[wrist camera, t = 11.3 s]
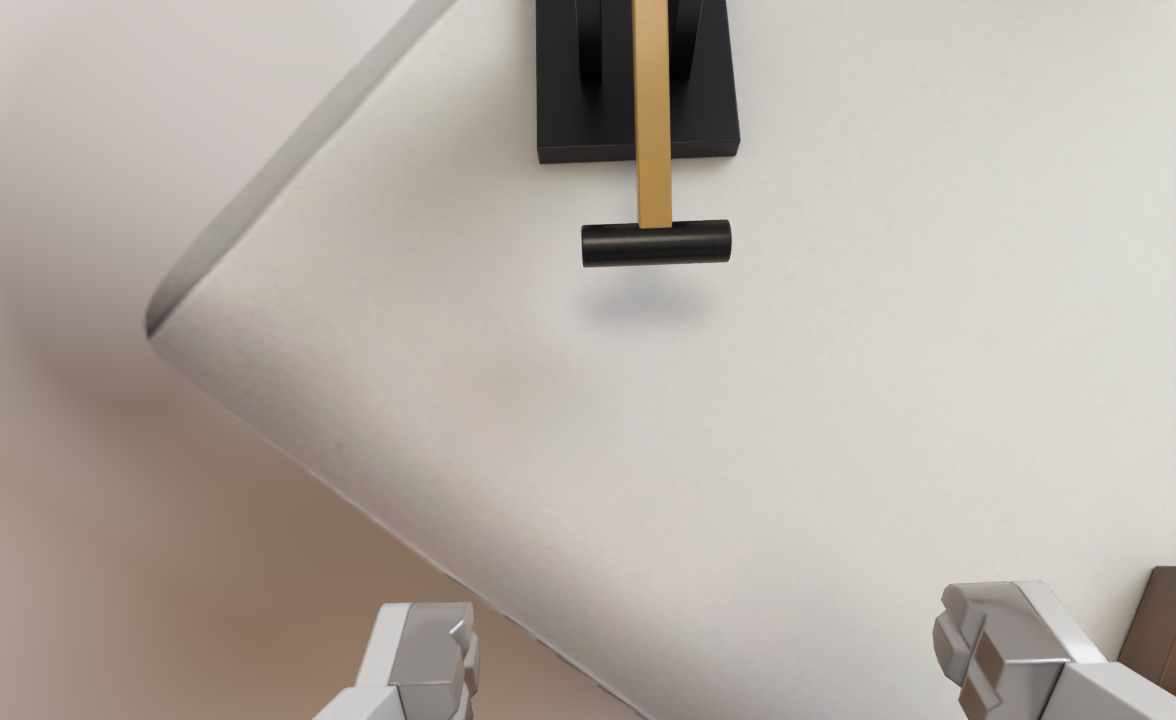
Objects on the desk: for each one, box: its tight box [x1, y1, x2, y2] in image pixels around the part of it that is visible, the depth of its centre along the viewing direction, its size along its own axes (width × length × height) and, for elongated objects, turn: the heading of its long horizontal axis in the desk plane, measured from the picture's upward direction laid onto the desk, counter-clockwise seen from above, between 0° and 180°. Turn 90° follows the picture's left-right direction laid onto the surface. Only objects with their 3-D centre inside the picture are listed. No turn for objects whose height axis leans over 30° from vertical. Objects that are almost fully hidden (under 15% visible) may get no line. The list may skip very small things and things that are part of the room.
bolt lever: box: [581, 0, 732, 268], centre depth 23 cm, size 16×5×2 cm, turn 2°
